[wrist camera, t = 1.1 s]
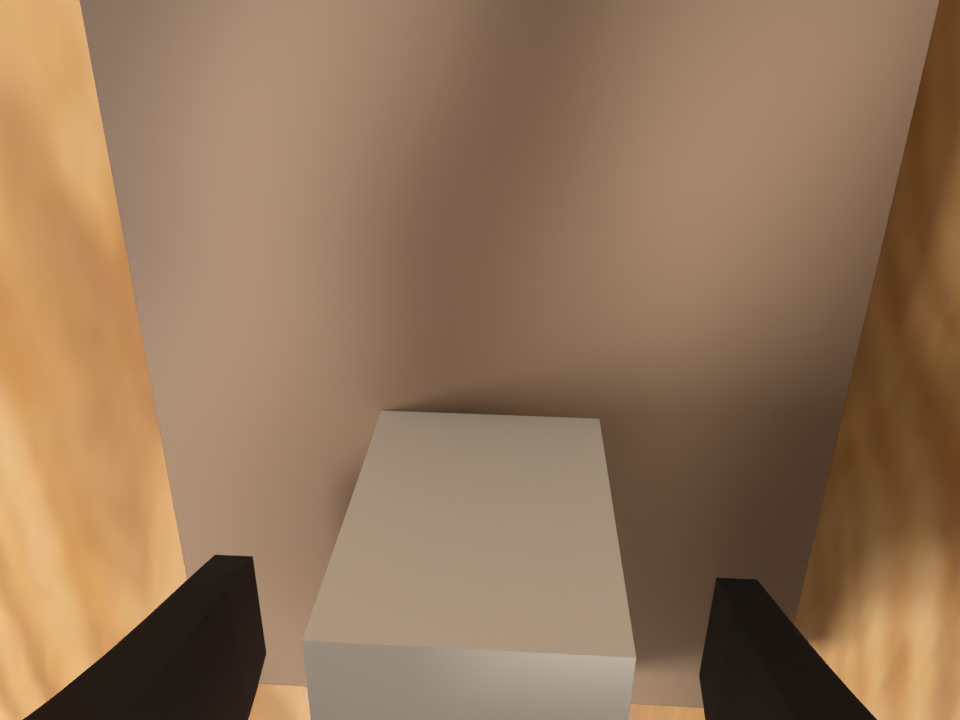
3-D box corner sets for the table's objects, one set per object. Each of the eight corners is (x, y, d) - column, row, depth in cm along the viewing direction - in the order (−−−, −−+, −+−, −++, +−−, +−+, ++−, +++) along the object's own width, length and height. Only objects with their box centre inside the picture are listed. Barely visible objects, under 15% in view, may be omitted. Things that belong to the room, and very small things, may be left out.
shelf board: (918, -137, 11) (974, -152, 9) (753, 652, 17) (772, 711, 15) (109, -140, 11) (50, -157, 10) (231, 625, 17) (205, 680, 16)
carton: (372, 410, 13) (287, 639, 9) (599, 418, 13) (636, 657, 8) (385, 662, 15) (326, 946, 11) (577, 672, 15) (597, 965, 11)
